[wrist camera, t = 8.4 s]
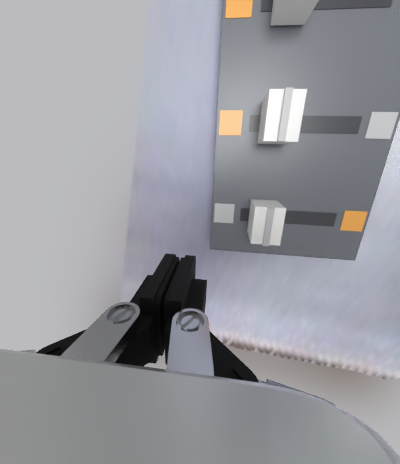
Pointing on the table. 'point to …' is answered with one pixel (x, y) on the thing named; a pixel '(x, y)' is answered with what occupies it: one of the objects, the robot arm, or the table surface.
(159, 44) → the table surface
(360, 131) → the switch panel
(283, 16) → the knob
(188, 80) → the table surface
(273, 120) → the middle knob
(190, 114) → the table surface
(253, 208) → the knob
